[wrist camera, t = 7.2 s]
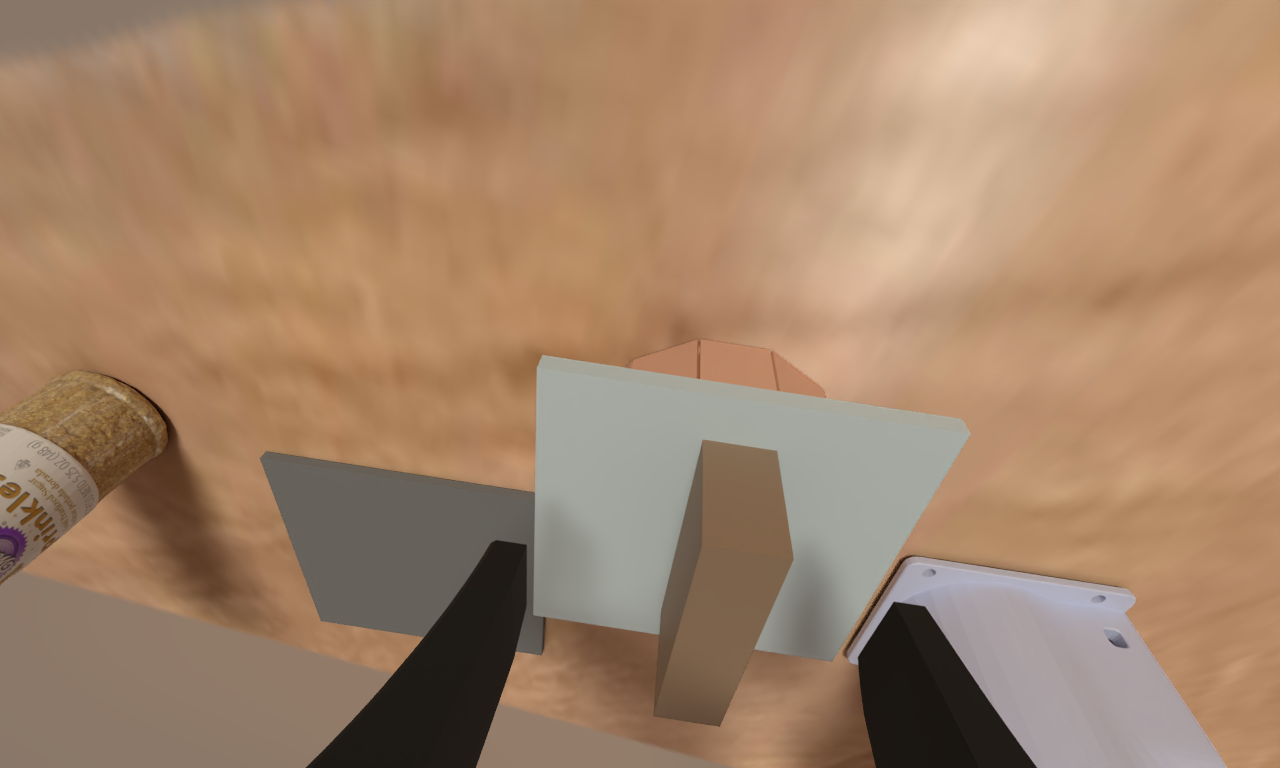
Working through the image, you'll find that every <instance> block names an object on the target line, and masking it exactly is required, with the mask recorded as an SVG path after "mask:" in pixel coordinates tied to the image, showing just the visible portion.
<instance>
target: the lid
mask: <svg viewBox="0 0 1280 768" xmlns="http://www.w3.org/2000/svg"><path fill="white" fill-rule="evenodd" d="M969 436H970V432H969V430H968V429H967V427H966V425H965V423H964V422H963V420H962V419H959V418H952V417H946V416H939V415H932V414H926V413H919V412H913V411H906V410H900V409H893V408H886V407H880V406H873V405H867V404H860V403H854V402H847V401H840V400H834V399H827V398H821V397H814V396H808V395H801V394H794V393H788V392H781V391H775V390H768V389H762V388H755V387H748V386H742V385H735V384H729V383H722V382H716V381H709V380H702V379H696V378H689V377H683V376H676V375H670V374H663V373H656V372H650V371H643V370H637V369H630V368H624V367H617V366H610V365H604V364H597V363H591V362H584V361H578V360H571V359H565V358H558V357H551V356H545V355H542V358H541V360H540V362H539V364H538V367H537V399H536V467H535V534H534V602H533V615H535V616H541V617H548V618H554V619H561V620H567V621H573V622H580V623H586V624H593V625H599V626H606V627H612V628H618V629H625V630H631V631H638V632H644V633H651V634H657V635H659V645H658V660H657V674H656V688H655V702H654V716H655V717H662V718H668V719H674V720H681V721H687V722H694V723H700V724H706V725H713V726H719V727H720V725H721V723H722V720H723V718H724V716H725V714H726V711H727V709H728V707H729V705H730V702H731V700H732V698H733V696H734V693H735V691H736V689H737V687H738V684H739V682H740V680H741V678H742V675H743V673H744V671H745V669H746V666H747V664H748V662H749V659H750V657H751V655H752V653H753V650H760V651H766V652H773V653H779V654H785V655H792V656H798V657H805V658H811V659H818V660H824V661H830V662H832V661H833V659H834V658H835V656H836V654H837V653H838V651H839V649H840V648H841V646H842V644H843V643H844V641H845V640H846V638H847V636H848V635H849V633H850V631H851V630H852V628H853V626H854V625H855V623H856V621H857V620H858V618H859V617H860V615H861V613H862V612H863V610H864V608H865V607H866V605H867V603H868V602H869V600H870V599H871V597H872V595H873V594H874V592H875V590H876V589H877V587H878V585H879V584H880V582H881V580H882V579H883V577H884V576H885V574H886V572H887V571H888V569H889V567H890V566H891V564H892V562H893V561H894V559H895V557H896V556H897V554H898V553H899V551H900V549H901V548H902V546H903V544H904V543H905V541H906V539H907V538H908V536H909V534H910V533H911V531H912V530H913V528H914V526H915V525H916V523H917V521H918V520H919V518H920V516H921V515H922V513H923V511H924V510H925V508H926V507H927V505H928V503H929V502H930V500H931V498H932V497H933V495H934V493H935V492H936V490H937V488H938V487H939V485H940V484H941V482H942V480H943V479H944V477H945V475H946V474H947V472H948V470H949V469H950V467H951V465H952V464H953V462H954V461H955V459H956V457H957V456H958V454H959V452H960V451H961V449H962V447H963V446H964V444H965V442H966V441H967V439H968V438H969Z"/></svg>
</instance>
